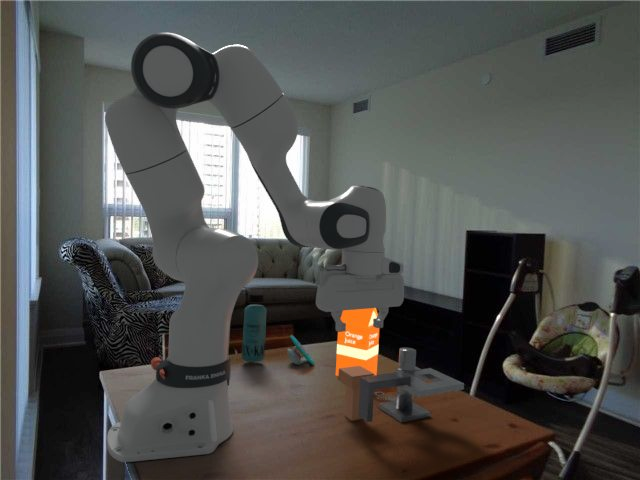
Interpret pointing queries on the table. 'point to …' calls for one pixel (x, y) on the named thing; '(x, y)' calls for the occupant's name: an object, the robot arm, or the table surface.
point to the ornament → (298, 353)
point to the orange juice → (358, 340)
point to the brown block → (352, 388)
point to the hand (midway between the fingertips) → (359, 329)
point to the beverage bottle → (254, 330)
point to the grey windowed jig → (404, 389)
